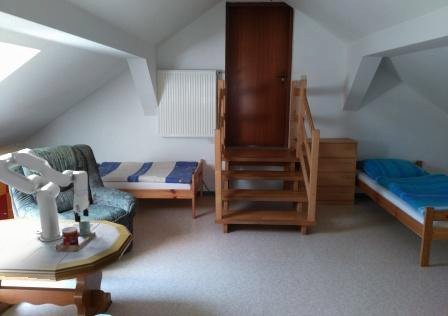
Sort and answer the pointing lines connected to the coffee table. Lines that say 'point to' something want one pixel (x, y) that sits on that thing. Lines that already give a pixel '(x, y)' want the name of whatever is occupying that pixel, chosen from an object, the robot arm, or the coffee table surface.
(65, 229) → the canned food
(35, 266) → the coffee table surface
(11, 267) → the coffee table surface
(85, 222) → the wooden rectangular frame
